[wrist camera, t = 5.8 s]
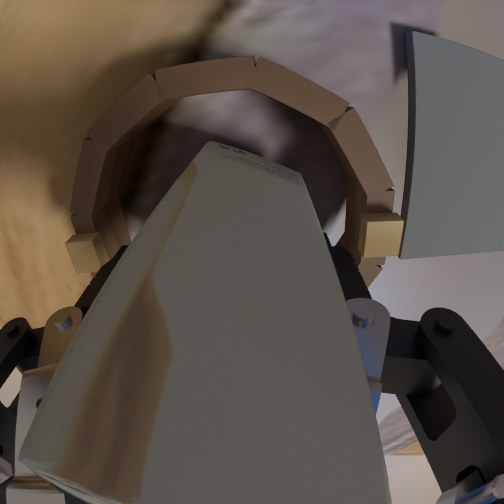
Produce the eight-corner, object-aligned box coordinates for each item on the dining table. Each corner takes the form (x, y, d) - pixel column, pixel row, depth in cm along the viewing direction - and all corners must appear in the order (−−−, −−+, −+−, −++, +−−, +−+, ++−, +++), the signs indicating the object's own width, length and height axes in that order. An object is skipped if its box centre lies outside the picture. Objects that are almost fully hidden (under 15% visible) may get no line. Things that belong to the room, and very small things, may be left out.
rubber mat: (404, 32, 10) (412, 30, 9) (544, 83, 9) (552, 85, 8) (395, 252, 16) (399, 259, 15) (522, 242, 15) (528, 248, 14)
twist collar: (77, 100, 12) (30, 109, 8) (374, 65, 11) (411, 60, 7) (137, 317, 19) (119, 359, 15) (358, 308, 18) (373, 353, 15)
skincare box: (207, 136, 12) (-16, 443, 1) (304, 171, 12) (422, 510, 2) (170, 259, 15) (82, 510, 4) (251, 285, 16) (240, 544, 5)
